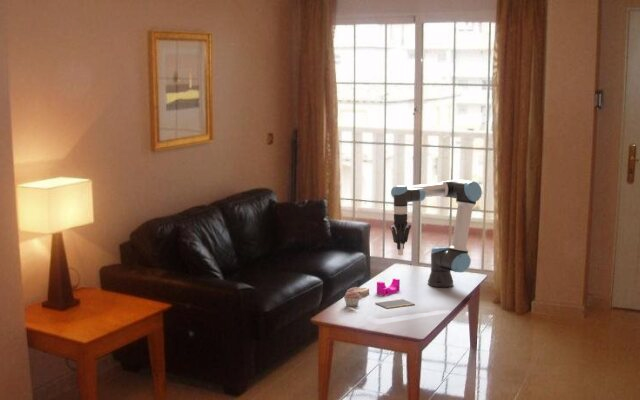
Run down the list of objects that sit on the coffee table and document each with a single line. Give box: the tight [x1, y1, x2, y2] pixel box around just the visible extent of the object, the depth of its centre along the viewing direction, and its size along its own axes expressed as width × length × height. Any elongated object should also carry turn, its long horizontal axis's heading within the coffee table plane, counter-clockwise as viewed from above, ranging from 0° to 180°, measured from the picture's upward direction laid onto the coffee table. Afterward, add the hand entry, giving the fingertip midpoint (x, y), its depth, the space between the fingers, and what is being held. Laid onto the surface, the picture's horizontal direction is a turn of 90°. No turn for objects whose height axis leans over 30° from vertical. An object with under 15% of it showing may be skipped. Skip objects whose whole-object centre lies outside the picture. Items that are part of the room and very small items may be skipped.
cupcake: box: [343, 287, 361, 308], centre depth 428 cm, size 9×9×10 cm
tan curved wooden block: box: [346, 286, 370, 299], centre depth 450 cm, size 4×10×9 cm
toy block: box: [376, 277, 401, 296], centre depth 456 cm, size 15×6×8 cm, turn 130°
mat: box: [374, 298, 415, 310], centre depth 430 cm, size 18×12×1 cm, turn 117°
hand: (400, 255), depth 438 cm, fingers closed
